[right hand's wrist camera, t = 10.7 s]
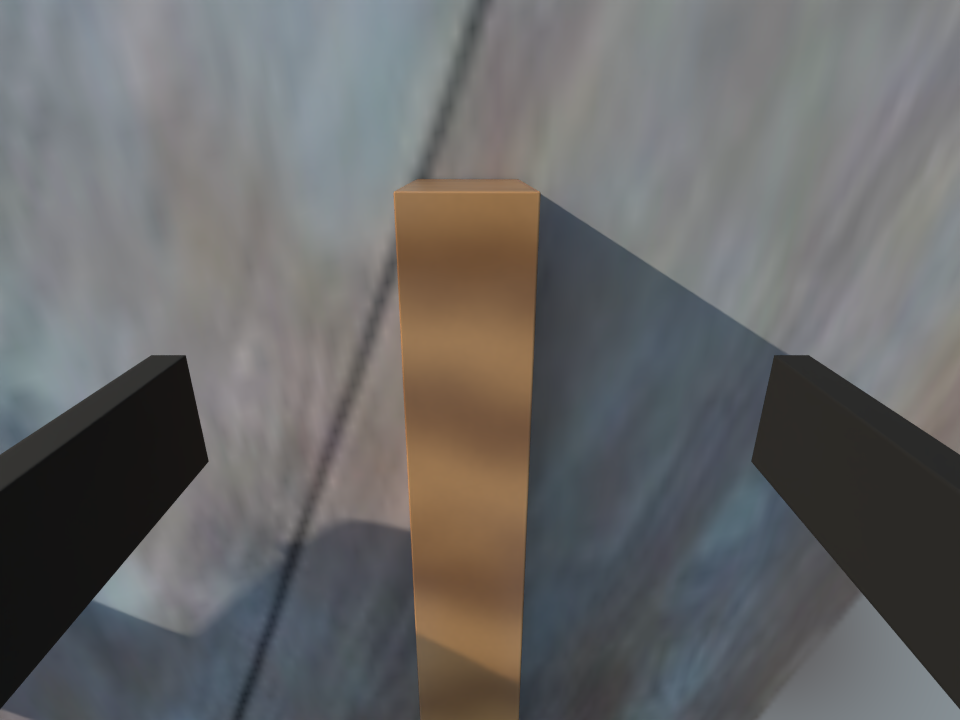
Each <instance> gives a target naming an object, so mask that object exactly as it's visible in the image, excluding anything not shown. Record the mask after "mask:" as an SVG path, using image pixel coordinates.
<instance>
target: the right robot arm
mask: <svg viewBox="0 0 960 720" xmlns="http://www.w3.org/2000/svg"><path fill="white" fill-rule="evenodd" d="M208 462H209V461H208V456H207V452H206V447H205V442H204V438H203V433H202V429H201V424H200V419H199V415H198V410H197V406H196V401H195V396H194V392H193V387H192V382H191V378H190V373H189V369H188V364H187V359H186V355H151V356H150V357H148V358H147V359H145V360H144V361H142V362H140V363H139V364H137V365H136V366H134V367H133V368H131V369H130V370H128V371H127V372H125V373H124V374H122V375H121V376H119V377H118V378H116V379H115V380H113V381H112V382H110V383H109V384H107V385H106V386H104V387H102V388H101V389H99V390H98V391H96V392H95V393H93V394H92V395H90V396H89V397H87V398H86V399H84V400H83V401H81V402H80V403H78V404H77V405H75V406H74V407H72V408H71V409H69V410H68V411H66V412H65V413H63V414H61V415H60V416H58V417H57V418H55V419H54V420H52V421H51V422H49V423H48V424H46V425H45V426H43V427H42V428H40V429H39V430H37V431H36V432H34V433H33V434H31V435H30V436H28V437H27V438H25V439H23V440H22V441H20V442H19V443H17V444H16V445H14V446H13V447H11V448H10V449H8V450H7V451H5V452H4V453H2V454H1V455H0V709H1V708H2V706H3V705H4V704H5V703H6V702H7V700H8V699H9V698H10V697H11V696H12V694H13V693H14V692H15V691H16V690H17V689H18V687H19V686H20V685H21V684H22V683H23V681H24V680H25V679H26V678H27V677H28V675H29V674H30V673H31V672H32V671H33V670H34V668H35V667H36V666H37V665H38V664H39V662H40V661H41V660H42V659H43V658H44V656H45V655H46V654H47V653H48V652H49V650H50V649H51V648H52V647H53V646H54V645H55V643H56V642H57V641H58V640H59V639H60V637H61V636H62V635H63V634H64V633H65V631H66V630H67V629H68V628H69V627H70V626H71V624H72V623H73V622H74V621H75V620H76V618H77V617H78V616H79V615H80V614H81V612H82V611H83V610H84V609H85V608H86V607H87V605H88V604H89V603H90V602H91V601H92V599H93V598H94V597H95V596H96V595H97V593H98V592H99V591H100V590H101V589H102V588H103V586H104V585H105V584H106V583H107V582H108V580H109V579H110V578H111V577H112V576H113V574H114V573H115V572H116V571H117V570H118V569H119V567H120V566H121V565H122V564H123V563H124V561H125V560H126V559H127V558H128V557H129V555H130V554H131V553H132V552H133V551H134V550H135V548H136V547H137V546H138V545H139V544H140V542H141V541H142V540H143V539H144V538H145V536H146V535H147V534H148V533H149V532H150V530H151V529H152V528H153V527H154V526H155V525H156V523H157V522H158V521H159V520H160V519H161V517H162V516H163V515H164V514H165V513H166V511H167V510H168V509H169V508H170V507H171V506H172V504H173V503H174V502H175V501H176V500H177V498H178V497H179V496H180V495H181V494H182V492H183V491H184V490H185V489H186V488H187V487H188V485H189V484H190V483H191V482H192V481H193V479H194V478H195V477H196V476H197V475H198V473H199V472H200V471H201V470H202V469H203V468H204V466H205V465H206V464H207V463H208ZM751 462H752V463H753V464H754V465H755V466H756V468H757V469H758V470H759V471H760V472H761V473H762V475H763V476H764V477H765V478H766V479H767V481H768V482H769V483H770V484H771V485H772V487H773V488H774V489H775V490H776V491H777V492H778V494H779V495H780V496H781V497H782V498H783V500H784V501H785V502H786V503H787V504H788V506H789V507H790V508H791V509H792V510H793V511H794V513H795V514H796V515H797V516H798V517H799V519H800V520H801V521H802V522H803V523H804V525H805V526H806V527H807V528H808V529H809V530H810V532H811V533H812V534H813V535H814V536H815V538H816V539H817V540H818V541H819V542H820V544H821V545H822V546H823V547H824V548H825V550H826V551H827V552H828V553H829V554H830V555H831V557H832V558H833V559H834V560H835V561H836V563H837V564H838V565H839V566H840V567H841V569H842V570H843V571H844V572H845V573H846V574H847V576H848V577H849V578H850V579H851V580H852V582H853V583H854V584H855V585H856V586H857V588H858V589H859V590H860V591H861V592H862V593H863V595H864V596H865V597H866V598H867V599H868V601H869V602H870V603H871V604H872V605H873V607H874V608H875V609H876V610H877V611H878V612H879V614H880V615H881V616H882V617H883V618H884V620H885V621H886V622H887V623H888V624H889V626H890V627H891V628H892V629H893V630H894V631H895V633H896V634H897V635H898V636H899V637H900V639H901V640H902V641H903V642H904V643H905V645H906V646H907V647H908V648H909V649H910V650H911V652H912V653H913V654H914V655H915V656H916V658H917V659H918V660H919V661H920V662H921V664H922V665H923V666H924V667H925V668H926V669H927V671H928V672H929V673H930V674H931V675H932V677H933V678H934V679H935V680H936V681H937V683H938V684H939V685H940V686H941V687H942V689H943V690H944V691H945V692H946V693H947V694H948V696H949V697H950V698H951V699H952V700H953V702H954V703H955V704H956V705H957V706H958V708H959V709H960V455H959V454H958V453H956V452H955V451H953V450H952V449H950V448H949V447H947V446H946V445H944V444H943V443H941V442H940V441H938V440H937V439H935V438H933V437H932V436H930V435H929V434H927V433H926V432H924V431H923V430H921V429H920V428H918V427H917V426H915V425H914V424H912V423H911V422H909V421H908V420H906V419H905V418H903V417H902V416H900V415H899V414H897V413H895V412H894V411H892V410H891V409H889V408H888V407H886V406H885V405H883V404H882V403H880V402H879V401H877V400H876V399H874V398H873V397H871V396H870V395H868V394H867V393H865V392H864V391H862V390H861V389H859V388H858V387H856V386H854V385H853V384H851V383H850V382H848V381H847V380H845V379H844V378H842V377H841V376H839V375H838V374H836V373H835V372H833V371H832V370H830V369H829V368H827V367H826V366H824V365H823V364H821V363H820V362H818V361H816V360H815V359H813V358H812V357H810V356H809V355H774V359H773V364H772V369H771V373H770V378H769V382H768V387H767V392H766V396H765V401H764V406H763V410H762V415H761V419H760V424H759V429H758V433H757V438H756V442H755V447H754V452H753V456H752V461H751Z"/></svg>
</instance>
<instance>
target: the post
mask: <svg viewBox="0 0 960 720" xmlns="http://www.w3.org/2000/svg"><path fill="white" fill-rule="evenodd" d="M394 210H395V230H396V250H397V269H398V289H399V309H400V329H401V349H402V369H403V388H404V408H405V428H406V448H407V468H408V488H409V507H410V527H411V547H412V567H413V587H414V606H415V626H416V646H417V666H418V686H419V706H420V720H519V701H520V677H521V653H522V629H523V604H524V580H525V556H526V532H527V508H528V484H529V460H530V435H531V411H532V387H533V363H534V339H535V315H536V291H537V266H538V242H539V218H540V192H539V191H537V190H536V189H534V188H532V187H530V186H529V185H527V184H525V183H524V182H522V181H520V180H518V179H417V180H415V181H413V182H411V183H409V184H407V185H406V186H404V187H402V188H400V189H398V190H396V191H395V192H394Z"/></svg>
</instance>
